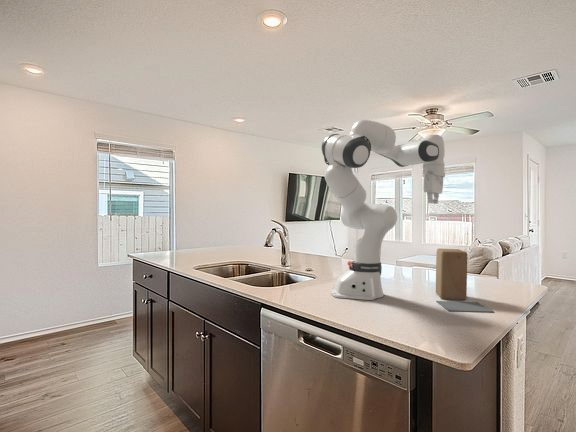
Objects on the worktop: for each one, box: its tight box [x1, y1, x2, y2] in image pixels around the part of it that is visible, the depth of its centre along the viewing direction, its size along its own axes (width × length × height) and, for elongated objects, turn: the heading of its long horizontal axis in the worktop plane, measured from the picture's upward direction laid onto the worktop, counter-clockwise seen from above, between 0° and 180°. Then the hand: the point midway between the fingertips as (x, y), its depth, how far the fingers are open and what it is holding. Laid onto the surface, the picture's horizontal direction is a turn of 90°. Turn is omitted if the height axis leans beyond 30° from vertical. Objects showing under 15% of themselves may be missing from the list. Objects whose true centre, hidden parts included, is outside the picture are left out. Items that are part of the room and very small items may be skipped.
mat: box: [435, 300, 495, 314], centre depth 126 cm, size 16×12×1 cm
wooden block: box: [435, 248, 468, 301], centre depth 140 cm, size 10×10×20 cm
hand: (433, 203), depth 147 cm, fingers open, 8 cm apart
